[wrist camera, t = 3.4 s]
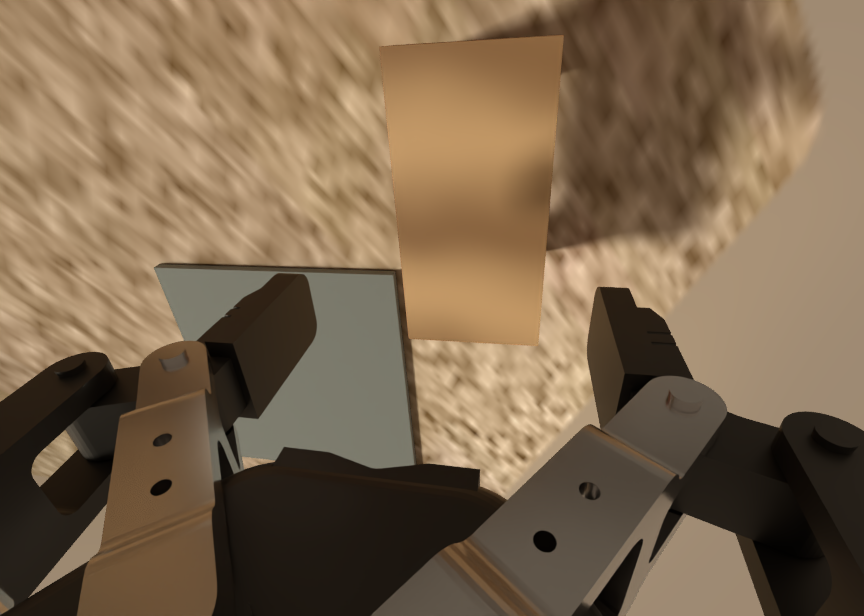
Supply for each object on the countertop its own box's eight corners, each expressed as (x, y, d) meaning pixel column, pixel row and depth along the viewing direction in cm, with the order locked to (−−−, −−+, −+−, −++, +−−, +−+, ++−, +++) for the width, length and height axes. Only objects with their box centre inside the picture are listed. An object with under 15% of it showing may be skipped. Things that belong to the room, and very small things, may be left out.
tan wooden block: (427, 42, 23) (379, 46, 15) (549, 34, 21) (563, 35, 14) (438, 258, 29) (408, 338, 21) (534, 260, 28) (537, 345, 20)
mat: (159, 264, 33) (153, 267, 32) (395, 271, 30) (393, 275, 29) (235, 450, 43) (232, 455, 43) (417, 470, 40) (415, 476, 40)
